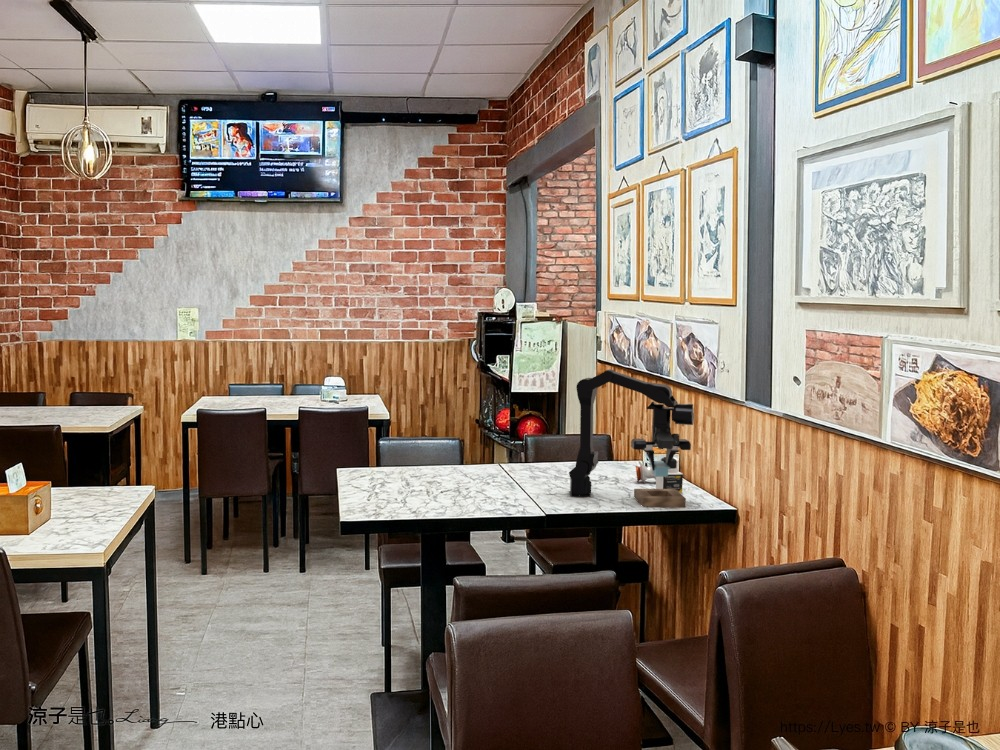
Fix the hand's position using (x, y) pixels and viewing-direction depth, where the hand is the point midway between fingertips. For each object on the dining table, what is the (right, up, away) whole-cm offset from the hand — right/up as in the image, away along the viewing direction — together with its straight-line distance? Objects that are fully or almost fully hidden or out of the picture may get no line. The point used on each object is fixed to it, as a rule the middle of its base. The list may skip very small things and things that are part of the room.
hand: (659, 470), depth 301 cm
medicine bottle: (+6, -9, +17) cm, 21 cm away
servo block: (0, -2, 0) cm, 2 cm away
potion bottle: (+4, -8, +31) cm, 32 cm away
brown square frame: (0, -11, +1) cm, 11 cm away
